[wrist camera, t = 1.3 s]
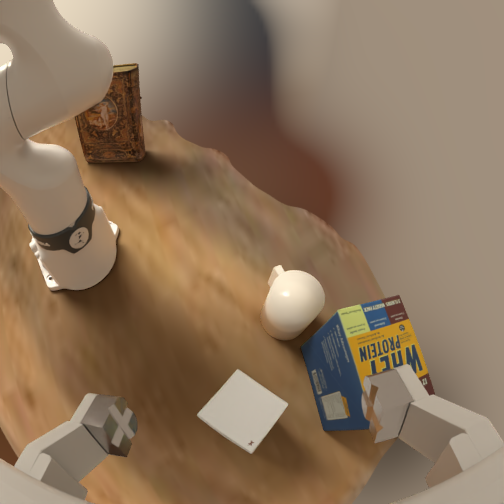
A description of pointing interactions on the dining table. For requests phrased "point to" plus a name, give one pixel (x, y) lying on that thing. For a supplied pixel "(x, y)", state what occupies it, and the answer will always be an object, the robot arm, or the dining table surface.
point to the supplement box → (243, 411)
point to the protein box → (359, 358)
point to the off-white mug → (291, 303)
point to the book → (114, 121)
